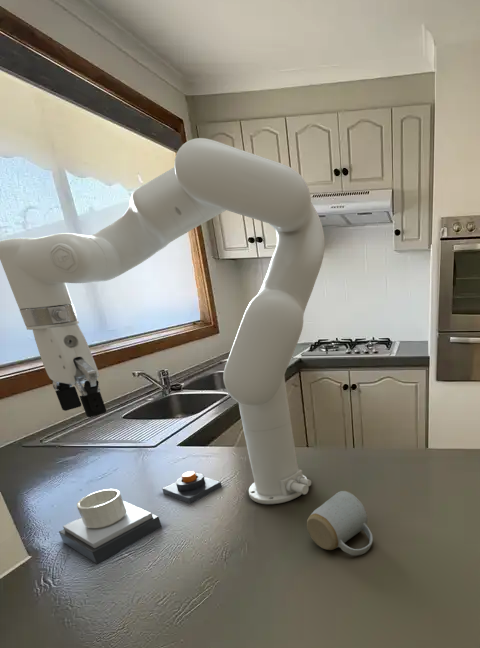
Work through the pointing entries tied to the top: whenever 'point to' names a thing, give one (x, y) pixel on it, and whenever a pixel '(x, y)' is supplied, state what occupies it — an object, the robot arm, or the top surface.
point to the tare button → (189, 476)
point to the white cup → (101, 508)
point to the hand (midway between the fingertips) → (84, 411)
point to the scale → (110, 533)
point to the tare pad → (192, 488)
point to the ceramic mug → (339, 523)
